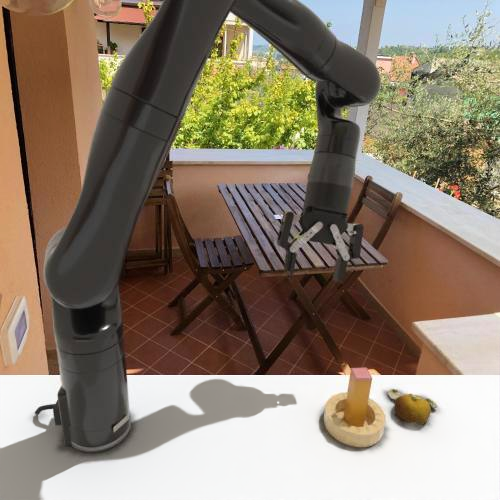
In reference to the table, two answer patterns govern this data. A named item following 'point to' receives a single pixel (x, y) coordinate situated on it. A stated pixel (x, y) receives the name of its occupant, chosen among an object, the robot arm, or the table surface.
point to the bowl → (354, 434)
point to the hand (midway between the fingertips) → (313, 277)
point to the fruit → (411, 407)
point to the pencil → (357, 396)
